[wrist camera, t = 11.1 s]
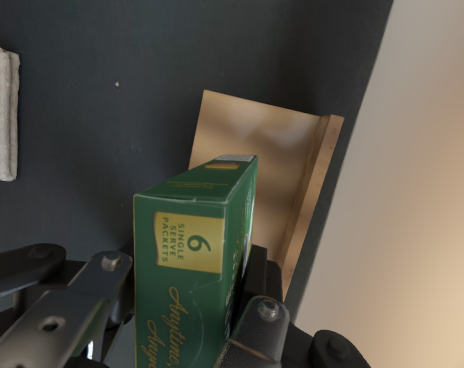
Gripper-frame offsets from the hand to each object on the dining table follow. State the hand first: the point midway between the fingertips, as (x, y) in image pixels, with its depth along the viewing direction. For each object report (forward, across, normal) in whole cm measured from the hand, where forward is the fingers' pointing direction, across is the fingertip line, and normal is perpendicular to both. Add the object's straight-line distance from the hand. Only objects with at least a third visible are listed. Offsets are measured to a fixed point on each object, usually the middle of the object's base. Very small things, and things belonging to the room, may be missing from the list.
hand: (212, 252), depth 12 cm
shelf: (+22, 0, 0) cm, 22 cm away
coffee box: (+8, 0, 0) cm, 8 cm away
